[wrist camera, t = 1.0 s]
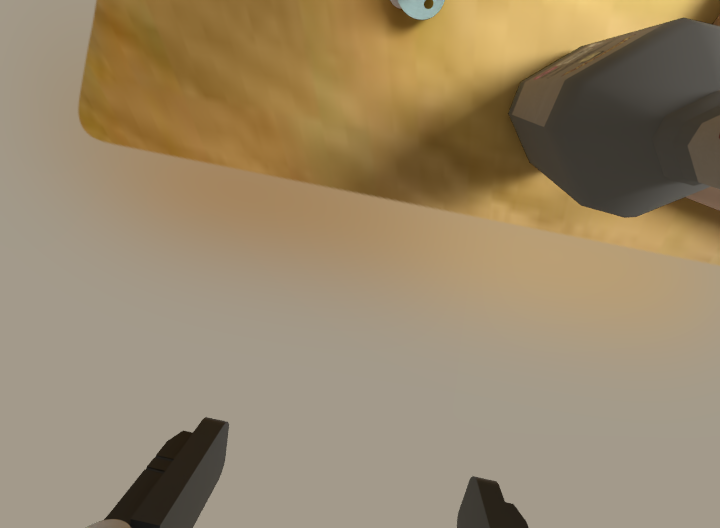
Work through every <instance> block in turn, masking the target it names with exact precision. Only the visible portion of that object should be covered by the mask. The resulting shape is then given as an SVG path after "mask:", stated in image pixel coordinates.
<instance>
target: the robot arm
mask: <svg viewBox="0 0 720 528" xmlns="http://www.w3.org/2000/svg"><path fill="white" fill-rule="evenodd" d="M228 429H229V424H228V422H225V421H221V420H216V419H212V418H207V417H206V418H204V419H203V420H202V421H201V423H200V424H199V425H198V427H197V428H196V429H195V431H194V432H193V433H191V432H187V431H182V432H180V433H179V434H178V435H176V436H174V437H173V438H172V439H170V440H168V441H167V442H166V444H165V445H164V446H163V447H162V449H161V450H160V451H159V452H158V454H157V455H156V457H155V458H154V459H153V460H152V461H151V462H150V464H149V465H148V466H147V469H146V470H144V471H143V472H142V474H141V475H140V476H139V477H138V479H137V480H136V481H135V483H134V484H133V485H132V486H131V487H130V489H129V490H128V491H127V492H126V494H125V495H124V496H123V497H122V499H121V500H120V501H119V502H118V504H117V505H116V506H115V507H114V509H113V510H112V511H111V512H110V514H109V515H108V516H107V517H106V518H105V519H104V520H103V521H99V522H97V523H94V524H92V525H90V526H88V527H86V528H193V526H194V524H195V523H196V521H197V519H198V517H199V515H200V513H201V511H202V510H203V508H204V506H205V504H206V502H207V500H208V498H209V496H210V495H211V493H212V491H213V489H214V487H215V485H216V483H217V482H218V480H219V477H220V475H221V472H222V469H223V466H224V462H225V456H226V446H227V438H228ZM457 528H528V525H527V523H526V521H525V519H524V518H523V517H522V515H521V514H520V513H519V511H518V510H517V508H516V507H515V506H514V505H513V504H511V503H506V502H505V501H504V498H503V496H502V493H501V490H500V487H499V484H498V483H497V482H496V481H492V480H487V479H483V478H478V477H471V479H470V481H469V484H468V486H467V489H466V492H465V495H464V498H463V501H462V504H461V507H460V510H459V513H458V519H457Z"/></svg>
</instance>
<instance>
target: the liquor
mask: <svg viewBox="0 0 720 528" xmlns="http://www.w3.org/2000/svg"><path fill="white" fill-rule="evenodd" d="M508 114H509V116H510V118H511V121H512V123H513V125H514V128H515V130H516V132H517V134H518V137H519V139H520V141H521V144H522V146H523V148H524V150H525V153H526V155H527V157H528V160H529V162H530V163H531V164H532V165H534V166H535V167H536V168H537V169H538V170H540V171H541V172H542V173H543V174H544V175H546V176H547V177H548V178H549V179H550V180H552V181H553V182H554V183H555V184H556V185H558V186H559V187H560V188H561V189H562V190H563V191H565V192H566V193H567V194H568V195H569V196H571V197H572V198H573V199H574V200H575V201H577V202H578V203H579V204H580V205H581V206H585V207H589V208H592V209H596V210H599V211H603V212H607V213H610V214H614V215H617V216H621V217H637V216H639V215H642V214H644V213H647V212H649V211H652V210H654V209H656V208H659V207H661V206H664V205H666V204H669V203H671V202H674V201H676V200H679V199H681V198H684V197H686V196H689V195H691V194H694V193H696V192H699V191H701V190H704V189H706V188H709V187H714V188H716V189H719V190H720V26H716V25H712V24H708V23H704V22H700V21H695V20H691V19H687V18H681V19H677V20H674V21H670V22H666V23H663V24H659V25H656V26H652V27H649V28H645V29H642V30H638V31H634V32H631V33H627V34H624V35H620V36H617V37H613V38H609V39H606V40H602V41H599V42H595V43H592V44H588V45H584V46H581V47H579V48H578V49H576V50H574V51H573V52H571V53H569V54H568V55H566V56H564V57H562V58H561V59H559V60H557V61H556V62H554V63H552V64H551V65H549V66H547V67H545V68H544V69H542V70H540V71H539V72H537V73H535V74H534V75H532V76H530V77H529V78H527V79H525V80H523V81H522V82H520V85H519V87H518V90H517V92H516V95H515V98H514V100H513V103H512V105H511V108H510V110H509V113H508Z"/></svg>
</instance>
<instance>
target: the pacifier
mask: <svg viewBox="0 0 720 528" xmlns="http://www.w3.org/2000/svg"><path fill="white" fill-rule="evenodd" d="M390 1H391V2H392V4H393V5H394V6H396V7H397V8H400V9H403V11H404V12H405V13H406V14H407V15H409V16H410V17H412V18H414V19H418V20H426V19H430V18H432V17H433V16H435V15H436V14H437V13H438V12H439V11H440V9H441V8H442V6H443V4H444V1H445V0H433V2H434V4H433V7H432V8H430V9H426V8H425V7H424V2H425V1H426V0H390Z"/></svg>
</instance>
